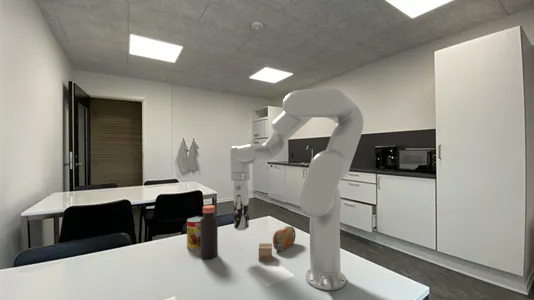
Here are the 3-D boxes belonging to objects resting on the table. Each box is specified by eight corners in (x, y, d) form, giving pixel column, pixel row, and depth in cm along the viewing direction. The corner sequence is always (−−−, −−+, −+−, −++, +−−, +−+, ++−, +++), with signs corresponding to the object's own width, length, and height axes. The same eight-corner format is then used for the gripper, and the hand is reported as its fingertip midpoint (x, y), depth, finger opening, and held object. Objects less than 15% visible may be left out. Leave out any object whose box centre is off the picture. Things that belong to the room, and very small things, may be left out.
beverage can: (246, 231, 90) (245, 199, 91) (232, 230, 91) (231, 199, 92) (250, 227, 96) (249, 197, 96) (237, 226, 97) (236, 197, 98)
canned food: (200, 249, 102) (200, 221, 102) (183, 248, 103) (183, 221, 103) (207, 243, 110) (207, 217, 110) (192, 242, 111) (192, 216, 111)
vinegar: (219, 252, 98) (219, 204, 99) (214, 260, 91) (214, 208, 92) (204, 252, 99) (203, 204, 99) (197, 259, 92) (197, 208, 93)
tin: (277, 254, 96) (277, 233, 96) (271, 252, 98) (271, 232, 98) (296, 243, 108) (296, 224, 108) (290, 241, 110) (290, 223, 110)
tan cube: (271, 261, 90) (271, 248, 90) (258, 261, 90) (258, 248, 90) (271, 255, 95) (271, 243, 95) (259, 255, 95) (259, 243, 95)
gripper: (247, 177, 86) (248, 228, 85) (251, 174, 102) (252, 217, 102) (226, 178, 86) (228, 228, 86) (234, 175, 103) (235, 217, 102)
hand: (241, 222), depth 94 cm, fingers closed on beverage can, 3 cm apart
